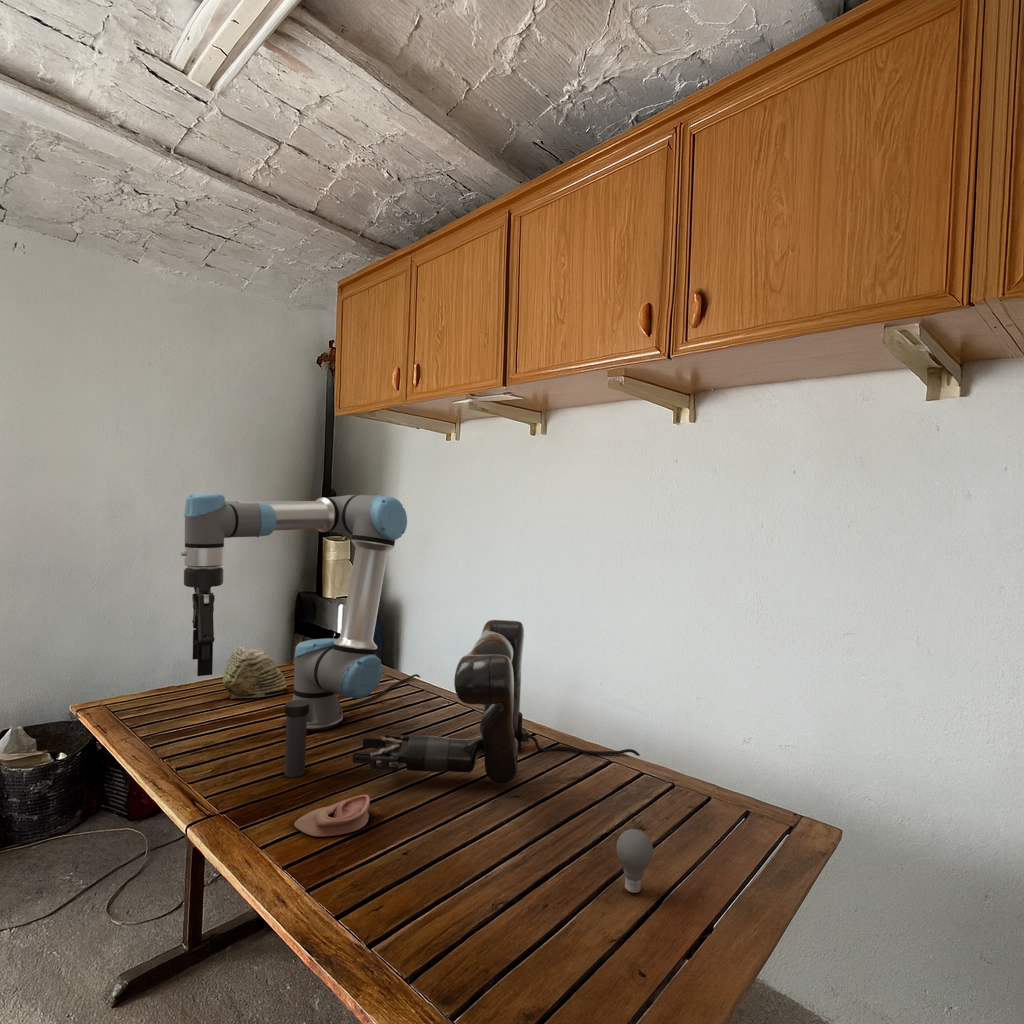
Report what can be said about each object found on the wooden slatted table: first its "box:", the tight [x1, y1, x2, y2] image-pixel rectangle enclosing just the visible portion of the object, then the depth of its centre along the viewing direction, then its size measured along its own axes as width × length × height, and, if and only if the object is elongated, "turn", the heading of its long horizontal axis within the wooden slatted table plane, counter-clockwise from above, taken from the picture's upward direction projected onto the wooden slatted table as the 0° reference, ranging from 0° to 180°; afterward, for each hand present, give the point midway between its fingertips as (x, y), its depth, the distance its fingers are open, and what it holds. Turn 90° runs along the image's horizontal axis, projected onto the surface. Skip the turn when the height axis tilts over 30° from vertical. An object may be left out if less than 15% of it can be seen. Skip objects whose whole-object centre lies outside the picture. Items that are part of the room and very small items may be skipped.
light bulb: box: [615, 828, 654, 894], centre depth 106 cm, size 6×6×10 cm
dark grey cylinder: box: [283, 714, 307, 778], centre depth 144 cm, size 4×4×16 cm
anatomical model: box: [293, 794, 371, 837], centre depth 123 cm, size 13×4×12 cm
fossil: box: [222, 646, 288, 699], centre depth 198 cm, size 9×18×15 cm, turn 132°
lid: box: [284, 700, 309, 717], centre depth 144 cm, size 5×5×2 cm
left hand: (202, 666), depth 134 cm, fingers open, 13 cm apart
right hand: (358, 749), depth 143 cm, fingers open, 8 cm apart
